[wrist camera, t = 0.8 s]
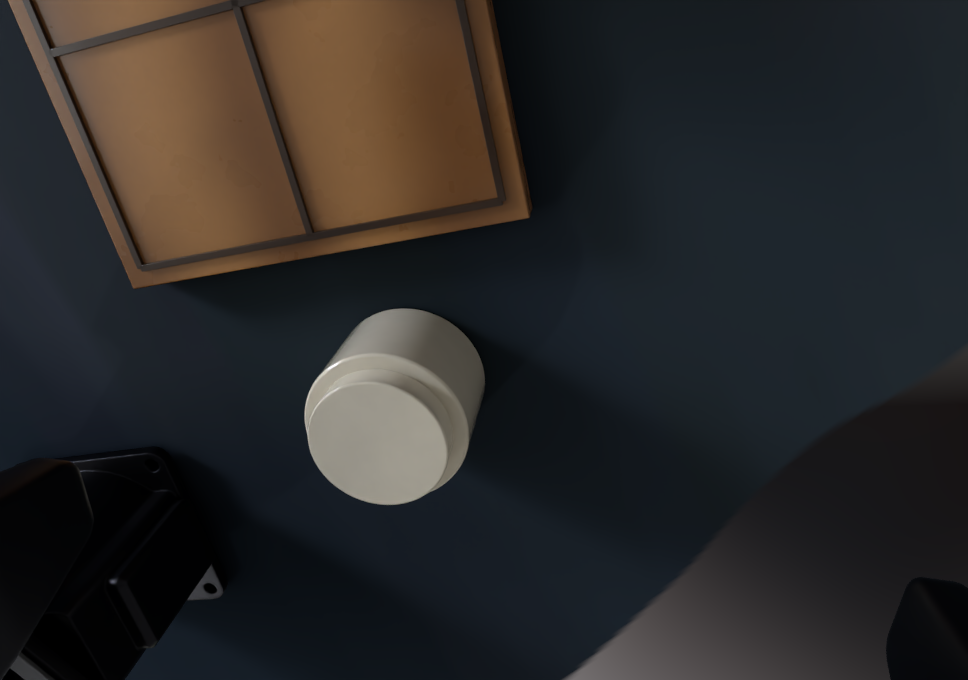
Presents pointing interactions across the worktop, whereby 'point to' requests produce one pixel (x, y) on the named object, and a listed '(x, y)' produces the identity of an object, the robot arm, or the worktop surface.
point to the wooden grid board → (279, 124)
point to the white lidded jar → (395, 407)
